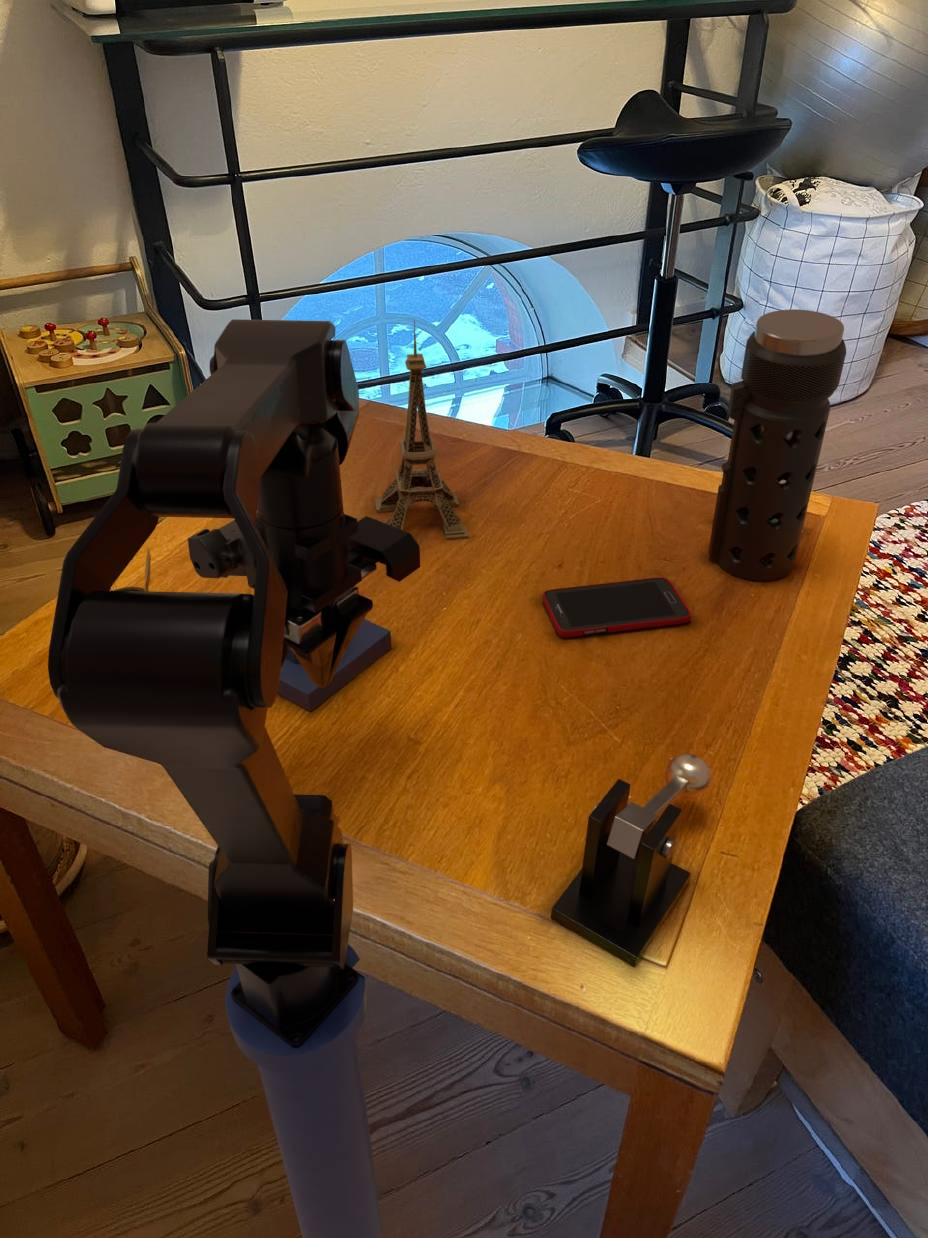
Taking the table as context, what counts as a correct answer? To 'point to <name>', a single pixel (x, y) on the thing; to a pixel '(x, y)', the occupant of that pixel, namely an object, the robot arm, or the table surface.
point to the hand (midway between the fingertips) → (321, 683)
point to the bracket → (623, 883)
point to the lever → (659, 803)
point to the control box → (357, 657)
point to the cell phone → (615, 607)
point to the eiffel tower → (419, 455)
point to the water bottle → (775, 441)
